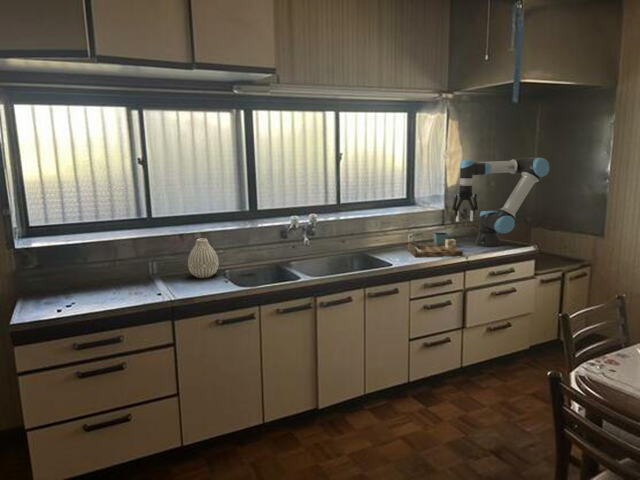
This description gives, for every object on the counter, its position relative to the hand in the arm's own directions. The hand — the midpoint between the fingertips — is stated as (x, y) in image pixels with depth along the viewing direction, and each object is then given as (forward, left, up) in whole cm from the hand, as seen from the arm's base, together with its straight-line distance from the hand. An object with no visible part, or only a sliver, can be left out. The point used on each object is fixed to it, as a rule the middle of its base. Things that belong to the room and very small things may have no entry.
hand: (464, 221), depth 307 cm
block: (+9, 0, -17) cm, 19 cm away
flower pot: (+10, -15, -20) cm, 26 cm away
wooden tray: (+20, +4, -19) cm, 28 cm away
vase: (+156, +43, -20) cm, 163 cm away
